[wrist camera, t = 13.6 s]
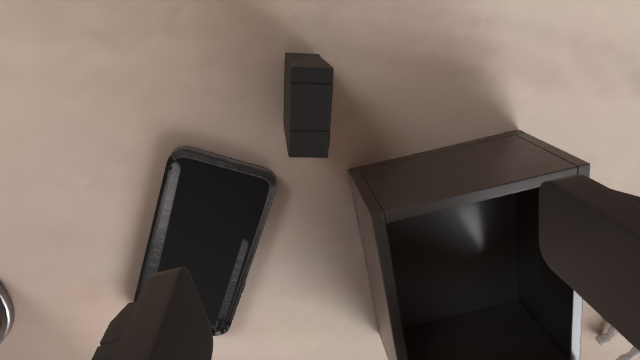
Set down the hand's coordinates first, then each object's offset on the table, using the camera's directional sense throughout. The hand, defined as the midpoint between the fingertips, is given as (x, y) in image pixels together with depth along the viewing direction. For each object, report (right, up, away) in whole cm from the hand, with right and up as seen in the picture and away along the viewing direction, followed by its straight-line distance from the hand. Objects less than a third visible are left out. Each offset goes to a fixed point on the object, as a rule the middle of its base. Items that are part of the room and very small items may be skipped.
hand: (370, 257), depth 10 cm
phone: (-10, -3, +24) cm, 26 cm away
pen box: (+9, -3, +26) cm, 28 cm away
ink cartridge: (-2, +8, +20) cm, 22 cm away
